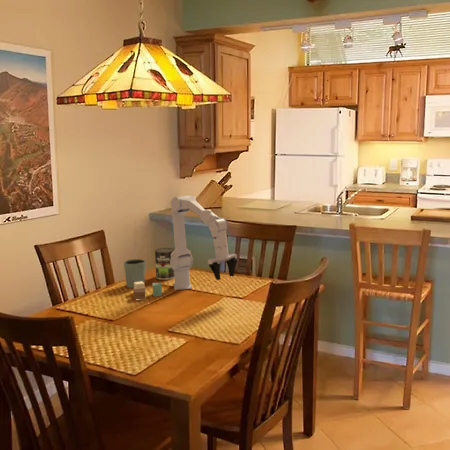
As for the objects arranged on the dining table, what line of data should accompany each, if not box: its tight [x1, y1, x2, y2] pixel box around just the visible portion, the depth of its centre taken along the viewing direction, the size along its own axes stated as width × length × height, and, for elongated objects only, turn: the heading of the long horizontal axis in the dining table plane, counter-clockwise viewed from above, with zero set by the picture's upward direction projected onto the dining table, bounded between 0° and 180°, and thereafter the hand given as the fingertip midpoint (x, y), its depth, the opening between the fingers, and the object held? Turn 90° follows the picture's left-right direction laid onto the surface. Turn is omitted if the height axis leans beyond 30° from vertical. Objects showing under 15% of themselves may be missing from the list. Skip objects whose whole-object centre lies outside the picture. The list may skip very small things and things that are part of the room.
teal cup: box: [123, 258, 146, 289], centre depth 265 cm, size 10×10×12 cm
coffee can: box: [154, 247, 175, 281], centre depth 278 cm, size 10×10×14 cm
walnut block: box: [132, 287, 146, 301], centre depth 245 cm, size 5×5×4 cm
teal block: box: [152, 282, 163, 297], centre depth 250 cm, size 4×4×5 cm
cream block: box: [133, 281, 146, 290], centre depth 253 cm, size 4×4×5 cm
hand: (225, 277), depth 236 cm, fingers open, 7 cm apart
